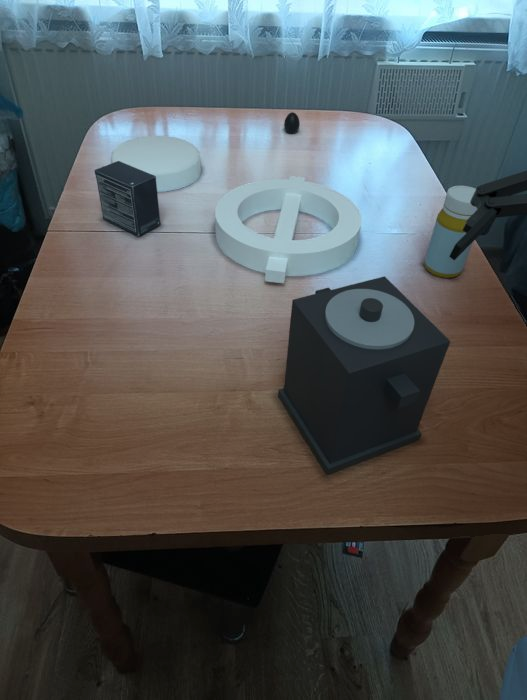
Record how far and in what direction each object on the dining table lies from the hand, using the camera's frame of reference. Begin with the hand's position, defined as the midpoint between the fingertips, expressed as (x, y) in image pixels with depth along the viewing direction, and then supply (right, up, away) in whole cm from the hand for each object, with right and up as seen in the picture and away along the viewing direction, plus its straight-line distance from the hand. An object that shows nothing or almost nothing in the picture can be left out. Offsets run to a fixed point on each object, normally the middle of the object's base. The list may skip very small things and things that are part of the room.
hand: (504, 289), depth 59 cm
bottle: (+7, +8, +41) cm, 43 cm away
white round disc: (-51, +34, +65) cm, 90 cm away
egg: (-19, +52, +85) cm, 102 cm away
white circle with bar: (-22, +16, +48) cm, 55 cm away
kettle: (-15, -16, +14) cm, 26 cm away
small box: (-53, +19, +49) cm, 74 cm away
